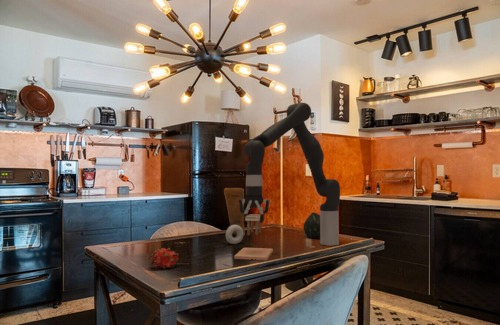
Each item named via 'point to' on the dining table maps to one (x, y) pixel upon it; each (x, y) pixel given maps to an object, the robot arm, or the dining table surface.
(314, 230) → the squash
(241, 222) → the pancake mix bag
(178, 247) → the dining table surface
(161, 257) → the dragon fruit
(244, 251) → the mat
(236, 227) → the donut
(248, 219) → the stool
